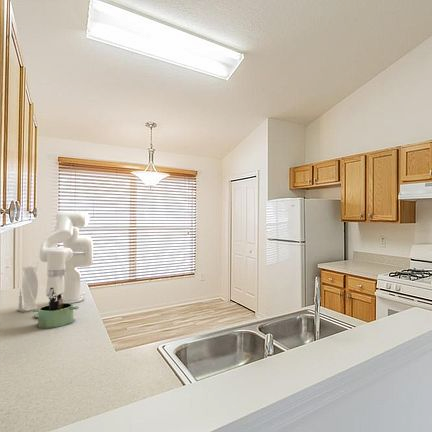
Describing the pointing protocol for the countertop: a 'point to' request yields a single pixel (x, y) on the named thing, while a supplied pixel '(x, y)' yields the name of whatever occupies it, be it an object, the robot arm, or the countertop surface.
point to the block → (60, 303)
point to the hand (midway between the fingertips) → (56, 307)
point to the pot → (55, 316)
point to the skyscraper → (29, 288)
